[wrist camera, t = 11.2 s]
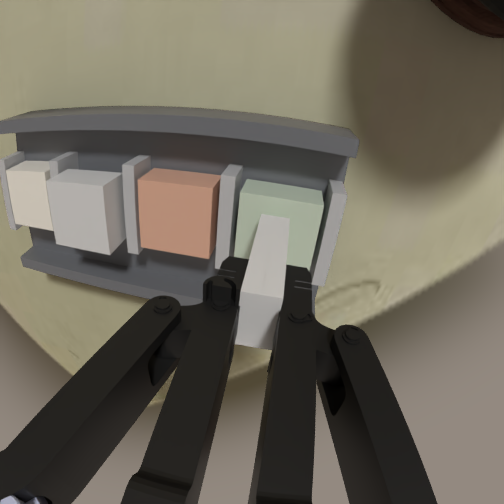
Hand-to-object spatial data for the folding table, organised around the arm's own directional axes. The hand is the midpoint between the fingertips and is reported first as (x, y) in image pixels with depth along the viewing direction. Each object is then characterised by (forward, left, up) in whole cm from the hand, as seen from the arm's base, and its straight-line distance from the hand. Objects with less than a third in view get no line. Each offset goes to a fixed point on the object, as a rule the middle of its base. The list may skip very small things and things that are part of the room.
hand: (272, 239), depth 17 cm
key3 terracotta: (-6, 0, -3) cm, 7 cm away
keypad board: (-9, -1, -6) cm, 10 cm away
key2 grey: (-12, 0, -2) cm, 12 cm away
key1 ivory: (-18, 0, -3) cm, 18 cm away
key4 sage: (0, 0, -3) cm, 3 cm away
